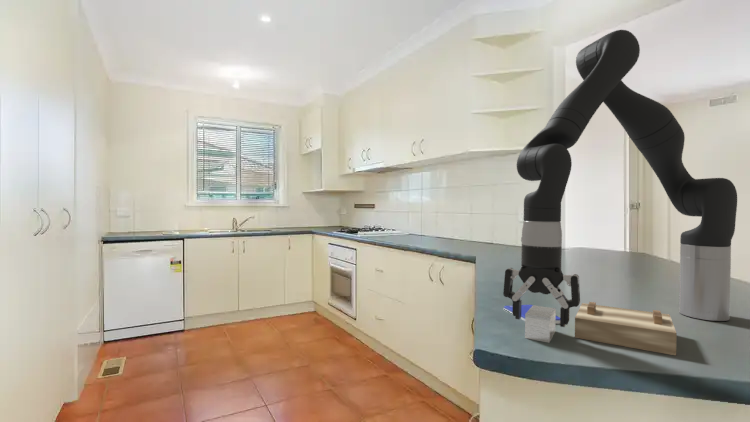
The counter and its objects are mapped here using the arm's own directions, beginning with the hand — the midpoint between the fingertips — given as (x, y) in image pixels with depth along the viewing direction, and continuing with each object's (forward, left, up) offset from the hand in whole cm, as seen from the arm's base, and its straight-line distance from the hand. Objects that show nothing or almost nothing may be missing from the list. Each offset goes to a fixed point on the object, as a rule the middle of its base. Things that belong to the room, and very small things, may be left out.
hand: (539, 322), depth 78 cm
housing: (0, 0, -3) cm, 3 cm away
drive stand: (-9, +14, -3) cm, 17 cm away
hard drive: (-13, -4, -3) cm, 14 cm away
